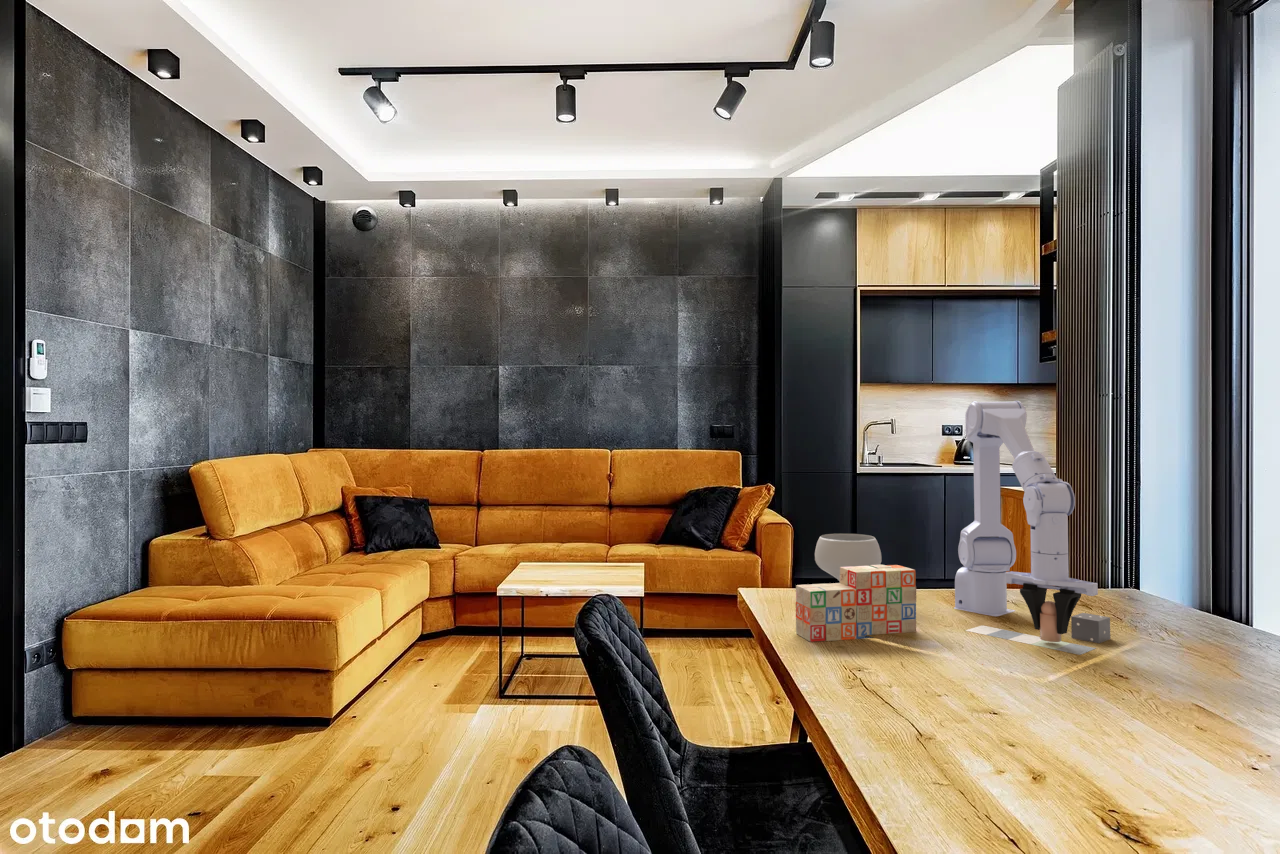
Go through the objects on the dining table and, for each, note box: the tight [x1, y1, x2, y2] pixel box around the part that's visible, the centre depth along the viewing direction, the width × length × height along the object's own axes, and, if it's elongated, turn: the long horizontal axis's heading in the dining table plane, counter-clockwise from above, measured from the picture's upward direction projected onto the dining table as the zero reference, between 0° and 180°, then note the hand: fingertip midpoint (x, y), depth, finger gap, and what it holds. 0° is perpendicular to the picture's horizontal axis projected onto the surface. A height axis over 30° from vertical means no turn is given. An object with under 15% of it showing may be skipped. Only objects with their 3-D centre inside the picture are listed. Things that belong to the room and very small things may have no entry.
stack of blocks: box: [795, 564, 917, 643], centre depth 140 cm, size 21×6×12 cm, turn 102°
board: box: [965, 625, 1097, 656], centre depth 133 cm, size 20×6×1 cm, turn 37°
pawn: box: [1039, 600, 1062, 642], centre depth 130 cm, size 3×3×7 cm
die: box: [1070, 612, 1111, 644], centre depth 133 cm, size 5×5×5 cm
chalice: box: [814, 533, 882, 582], centre depth 163 cm, size 14×14×15 cm
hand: (1050, 630), depth 130 cm, fingers closed on pawn, 3 cm apart
